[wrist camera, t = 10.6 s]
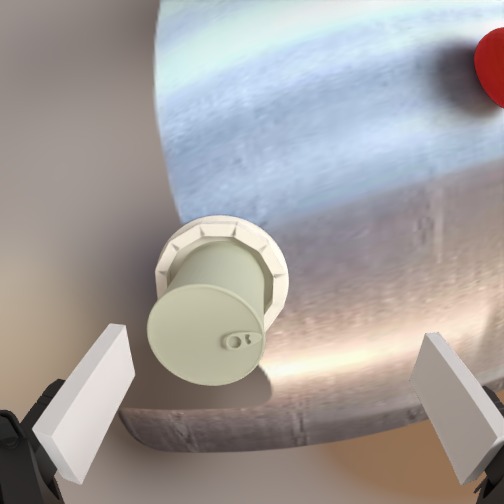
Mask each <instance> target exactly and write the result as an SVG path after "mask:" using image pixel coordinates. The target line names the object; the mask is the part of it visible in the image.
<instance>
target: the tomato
mask: <svg viewBox="0 0 504 504" xmlns="http://www.w3.org/2000/svg"><path fill="white" fill-rule="evenodd" d="M474 64H475V69H476V73H477V76H478V79H479V81H480V83H481V85H482V87H483V89H484V90H485V92H486V93H487V95H488V96H489V97H490V98H491V99H492V100H493V101H494V102H495V103H496V104H498V105H499V106H500V107H502V108H504V27H503V28H497V29H495V30H492V31H491V32H489V33H488V34H487V35H485V36H484V37H483V38H482V39H481V40H480V42H479V44H478V45H477V48H476V50H475V55H474Z"/></svg>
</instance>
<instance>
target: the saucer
mask: <svg viewBox="0 0 504 504" xmlns="http://www.w3.org/2000/svg"><path fill="white" fill-rule="evenodd" d="M214 241H226V242H231V243H235V244H237V245H240V246H242V247H243V248H245V249H247V250H248V251H249V252H250V253H252V254H253V255H254V256H255V258H256V259H257V260H258V262H259V263H260V265H261V267H262V270H263V273H264V277H265V290H264V294H263V298H264V330H265V331H267V329H268V328H269V327H270V325H271V324H272V322H273V321H274V320H275V318H276V317H277V315H278V314H279V313H280V311H281V310H282V308H283V307H284V302H285V300H286V296H287V293H288V285H289V277H288V270H287V265H286V262H285V259H284V256H283V254H282V252H281V250H280V248H279V246H278V245H277V243H276V242H275V241H274V240H273V238H272V237H271V236H270V235H269V234H268V233H267V232H266V231H264V230H263V229H262V228H260V227H259V226H257V225H256V224H254V223H252V222H250V221H248V220H245V219H243V218H240V217H235V216H231V215H210V216H205V217H201V218H198V219H195V220H193V221H191V222H189V223H187V224H185V225H184V226H183V227H181V228H180V229H179V230H178V231H176V232H175V233H174V234H173V235H172V236H171V237H170V239H169V240H168V241H167V242H166V244H165V246H164V247H163V249H162V251H161V254H160V256H159V259H158V263H157V267H156V269H155V276H156V287H157V297H158V299H159V298H160V297H161V296H162V295H163V294H164V292H165V291H166V289H167V288H168V286H169V285H170V283H171V282H172V281H173V279H174V278H175V276H176V275H177V273H178V272H179V270H180V269H181V266H182V264H183V262H184V260H185V258H186V257H187V256H188V255H189V254H190V253H191V252H192V251H193V250H194V249H195V248H197V247H199V246H201V245H203V244H205V243H209V242H214Z"/></svg>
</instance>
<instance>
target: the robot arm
mask: <svg viewBox="0 0 504 504" xmlns="http://www.w3.org/2000/svg"><path fill="white" fill-rule="evenodd" d="M134 376H135V372H134V367H133V362H132V357H131V352H130V347H129V342H128V336H127V331H126V326H125V325H119V324H109V325H108V327H107V328H106V329H105V330H104V332H103V333H102V334H101V335H100V337H99V338H98V339H97V341H96V342H95V343H94V344H93V346H92V347H91V348H90V350H89V351H88V352H87V354H86V355H85V356H84V358H83V359H82V360H81V361H80V363H79V364H78V365H77V367H76V368H75V369H74V371H73V372H72V373H71V375H70V376H69V377H68V379H67V380H61V379H58V380H56V381H55V382H53V383H52V384H50V385H49V386H48V387H47V388H46V390H45V391H44V392H43V394H42V396H40V398H39V399H38V400H37V403H35V404H34V405H33V407H32V408H31V409H30V411H29V412H28V414H27V415H26V416H25V418H24V419H23V420H22V422H21V423H19V421H18V419H17V418H16V416H15V415H14V414H13V413H12V412H11V411H8V410H0V504H65V503H64V501H63V498H62V496H61V492H60V490H59V487H58V484H57V481H56V479H55V478H54V475H55V473H56V471H57V470H58V471H59V473H60V474H61V476H62V477H63V478H64V479H67V480H70V481H72V482H75V483H78V484H82V482H83V480H84V478H85V476H86V474H87V471H88V469H89V467H90V465H91V463H92V461H93V459H94V456H95V455H96V452H97V450H98V448H99V446H100V444H101V442H102V440H103V438H104V436H105V433H106V432H107V429H108V427H109V425H110V423H111V421H112V419H113V417H114V415H115V413H116V411H117V409H118V407H119V405H120V403H121V401H122V399H123V397H124V395H125V393H126V392H127V390H128V388H129V386H130V384H131V382H132V379H133V378H134ZM409 381H410V383H411V385H412V386H413V388H414V390H415V392H416V394H417V396H418V398H419V400H420V401H421V403H422V405H423V407H424V409H425V411H426V413H427V415H428V417H429V419H430V421H431V423H432V425H433V427H434V429H435V431H436V433H437V435H438V437H439V439H440V441H441V443H442V445H443V447H444V449H445V451H446V454H447V456H448V458H449V460H450V462H451V464H452V467H453V469H454V471H455V473H456V475H457V478H458V480H459V482H460V484H461V485H464V484H467V483H469V482H472V481H474V480H477V478H478V477H479V476H480V475H481V474H482V473H483V471H485V473H486V475H487V476H486V478H485V479H484V480H483V481H482V482H481V484H480V485H479V486H478V487H477V488H476V489H475V491H474V493H476V492H477V491H478V490H479V489H480V488H481V490H480V493H479V496H478V499H477V502H476V504H504V405H503V404H502V403H501V402H500V400H499V398H498V397H497V396H496V394H495V393H494V392H493V391H492V390H490V389H489V388H487V387H486V386H482V387H481V385H480V384H479V383H478V381H477V380H476V379H475V377H474V376H473V375H472V373H471V372H470V371H469V370H468V368H467V367H466V366H465V364H464V363H463V362H462V361H461V359H460V358H459V357H458V355H457V354H456V353H455V352H454V350H453V349H452V348H451V347H450V345H449V344H448V343H447V342H446V340H445V339H444V338H443V337H442V336H441V334H440V333H439V332H436V333H425V336H424V339H423V342H422V345H421V349H420V352H419V355H418V358H417V361H416V364H415V366H414V369H413V372H412V375H411V378H410V380H409Z"/></svg>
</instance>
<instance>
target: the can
mask: <svg viewBox="0 0 504 504" xmlns="http://www.w3.org/2000/svg"><path fill="white" fill-rule="evenodd" d="M264 290H265V277H264V273H263V270H262V267H261V265H260V263H259V262H258V260H257V259H256V258H255V256H254V255H253V254H252V253H250V252H249V251H248V250H247V249H245V248H243V247H242V246H240V245H237V244H235V243H231V242H226V241H214V242H209V243H205V244H203V245H201V246H199V247H197V248H195V249H194V250H193V251H192V252H191V253H190V254H189V255H188V256H187V257H186V258H185V260H184V262H183V264H182V266H181V269H180V270H179V272H178V273H177V275H176V276H175V278H174V279H173V281H172V282H171V283H170V285H169V286H168V288H167V289H166V291H165V292H164V294H163V295H162V296H161V297H160V298H159V299H158V301H157V302H156V303H155V304H154V306H153V307H152V309H151V311H150V314H149V317H148V321H147V336H148V340H149V344H150V347H151V348H152V351H153V353H154V354H155V356H156V357H157V359H158V360H159V361H160V363H161V364H162V365H163V366H164V367H166V368H167V369H168V370H169V371H170V372H172V373H173V374H175V375H176V376H178V377H180V378H182V379H184V380H187V381H189V382H192V383H196V384H200V385H212V386H213V385H214V386H215V385H224V384H229V383H232V382H235V381H237V380H240V379H241V378H243V377H245V376H246V375H248V374H249V373H250V372H251V371H253V370H254V368H255V367H256V366H257V365H258V363H259V362H260V360H261V358H262V356H263V353H264V349H265V342H266V336H265V330H264V298H263V294H264Z"/></svg>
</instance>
